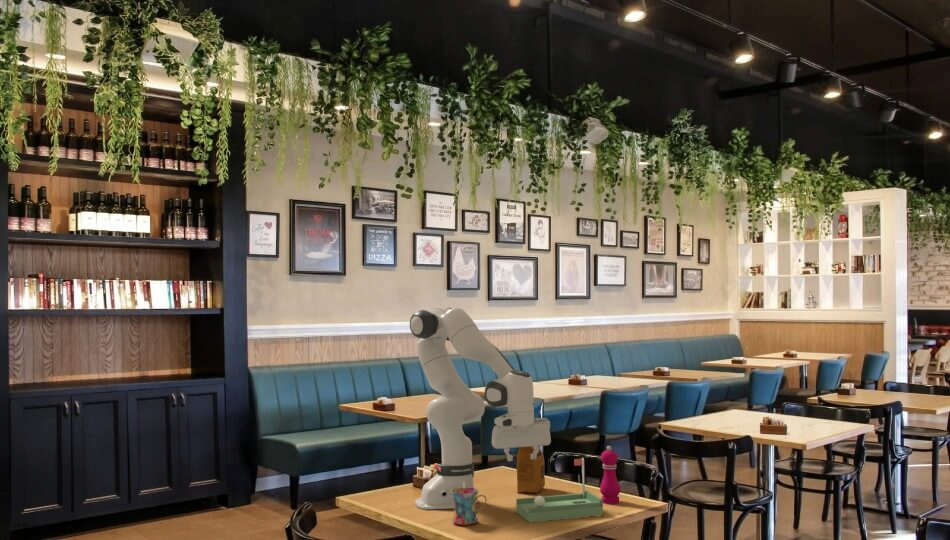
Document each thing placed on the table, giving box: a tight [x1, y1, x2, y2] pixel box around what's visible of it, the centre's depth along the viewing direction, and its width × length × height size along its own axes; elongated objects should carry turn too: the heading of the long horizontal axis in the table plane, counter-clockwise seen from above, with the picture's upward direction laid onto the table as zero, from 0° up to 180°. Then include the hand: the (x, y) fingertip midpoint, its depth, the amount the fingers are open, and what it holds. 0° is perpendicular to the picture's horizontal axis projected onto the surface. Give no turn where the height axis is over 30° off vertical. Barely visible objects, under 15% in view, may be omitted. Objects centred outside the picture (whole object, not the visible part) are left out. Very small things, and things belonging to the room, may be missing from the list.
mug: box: [450, 487, 487, 526], centre depth 269 cm, size 12×9×11 cm
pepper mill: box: [599, 445, 621, 505], centre depth 293 cm, size 7×7×20 cm
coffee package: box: [516, 446, 546, 494], centre depth 313 cm, size 10×12×22 cm
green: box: [516, 457, 604, 523], centre depth 278 cm, size 26×14×17 cm, turn 105°
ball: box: [534, 495, 545, 507], centre depth 276 cm, size 4×4×4 cm
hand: (521, 460), depth 275 cm, fingers open, 7 cm apart
